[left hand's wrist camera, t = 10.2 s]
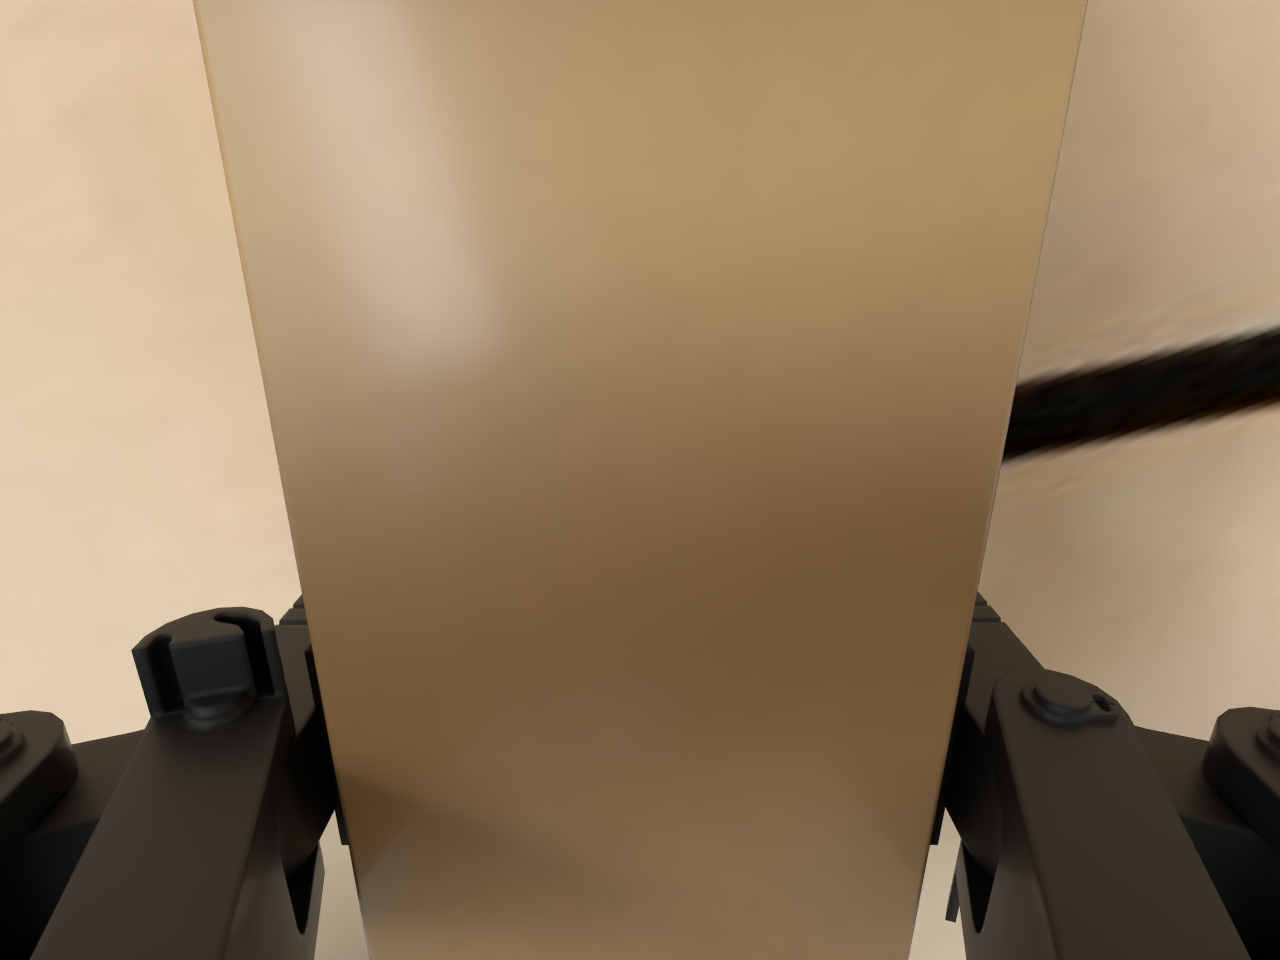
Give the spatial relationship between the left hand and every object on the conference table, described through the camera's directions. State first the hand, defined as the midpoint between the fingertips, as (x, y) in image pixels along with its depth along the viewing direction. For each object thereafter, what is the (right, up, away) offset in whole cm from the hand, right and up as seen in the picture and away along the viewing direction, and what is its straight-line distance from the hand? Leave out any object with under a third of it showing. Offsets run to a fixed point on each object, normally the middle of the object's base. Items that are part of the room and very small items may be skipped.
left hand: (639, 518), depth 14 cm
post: (0, +17, -6) cm, 18 cm away
